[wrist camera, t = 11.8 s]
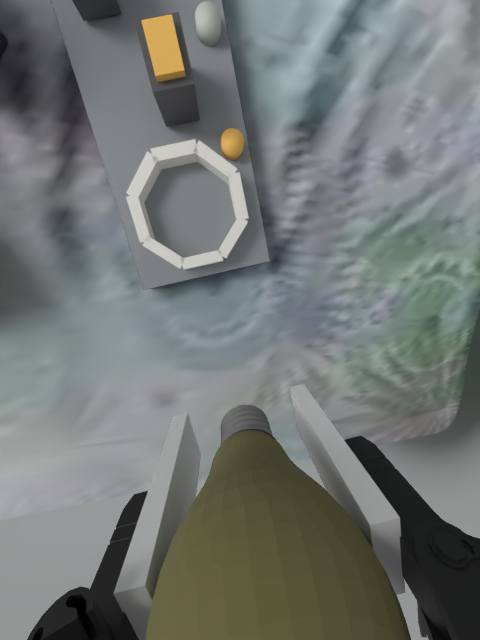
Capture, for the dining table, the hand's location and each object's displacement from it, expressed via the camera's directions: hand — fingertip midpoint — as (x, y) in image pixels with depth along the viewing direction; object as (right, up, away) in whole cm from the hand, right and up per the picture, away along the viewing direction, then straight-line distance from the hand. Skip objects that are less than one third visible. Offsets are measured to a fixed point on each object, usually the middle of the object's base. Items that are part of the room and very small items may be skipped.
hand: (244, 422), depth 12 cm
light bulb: (0, 0, 0) cm, 1 cm away
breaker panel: (-7, +24, +9) cm, 26 cm away
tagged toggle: (-6, +24, +7) cm, 26 cm away
